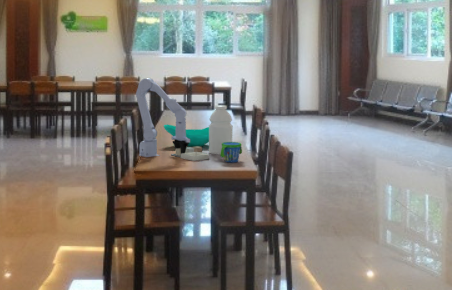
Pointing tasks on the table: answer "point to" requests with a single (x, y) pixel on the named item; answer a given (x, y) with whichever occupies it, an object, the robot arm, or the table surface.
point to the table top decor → (192, 135)
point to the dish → (194, 156)
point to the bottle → (219, 129)
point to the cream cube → (178, 151)
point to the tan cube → (197, 149)
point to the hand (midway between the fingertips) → (180, 153)
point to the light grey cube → (189, 149)
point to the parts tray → (178, 155)
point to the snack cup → (231, 151)
